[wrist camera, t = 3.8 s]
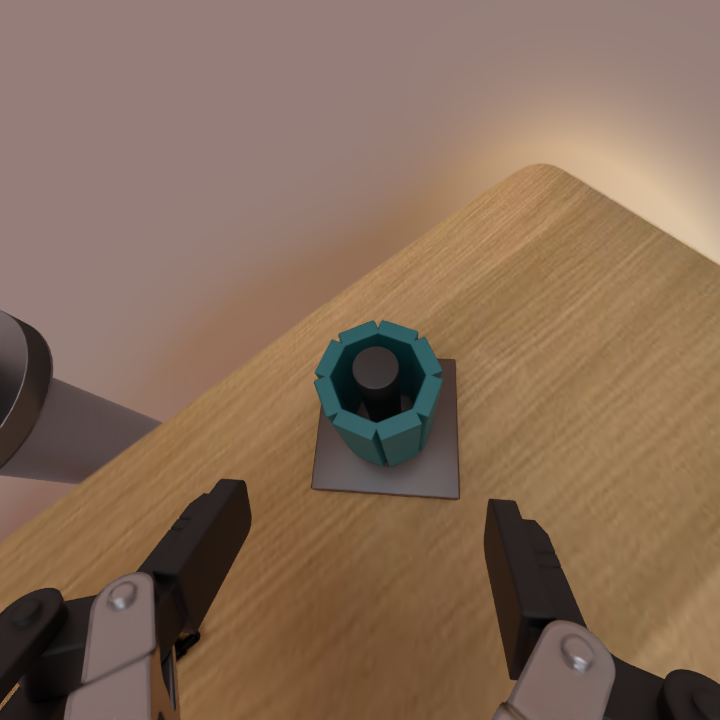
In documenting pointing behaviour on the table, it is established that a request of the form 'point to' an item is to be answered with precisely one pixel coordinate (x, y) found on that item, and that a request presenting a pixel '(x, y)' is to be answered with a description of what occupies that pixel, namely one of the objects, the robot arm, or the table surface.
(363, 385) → the holder
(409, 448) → the teal octagonal tube
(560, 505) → the table surface
